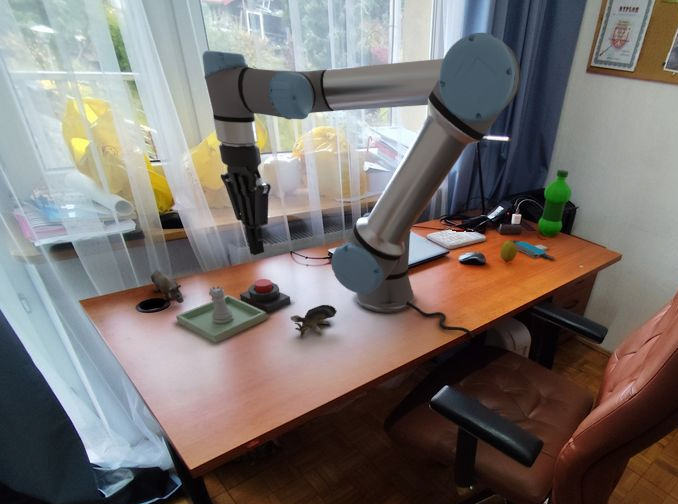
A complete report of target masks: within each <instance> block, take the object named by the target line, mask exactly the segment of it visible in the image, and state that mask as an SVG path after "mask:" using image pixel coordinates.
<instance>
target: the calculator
mask: <svg viewBox="0 0 678 504" xmlns="http://www.w3.org/2000/svg"><path fill="white" fill-rule="evenodd" d="M426 238H427V239H428V240H429V241H432V242H433V243H435V244H438V245H439V246H441V247H443V248H446V249H448V250H453V249H457V248H463V247H465V246H469V245H470V246H471V245H474V244H477V243H481V242H485V241H486V239H487V236H485V235H484V234H482V233H479V232H477V231H475V232H466V231H464V232H456V231H452V230H450V229H446V230H440V231H435V232H432V233H428V234H426Z"/></svg>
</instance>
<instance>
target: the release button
mask: <svg viewBox="0 0 678 504" xmlns="http://www.w3.org/2000/svg"><path fill="white" fill-rule="evenodd" d="M272 283H273V282H272V281H271V279H266V278H259V279H256V280H255V281H254V282H253V284H254V286H255V291H256V292H262V293H263V292H269V291H271V290H272Z"/></svg>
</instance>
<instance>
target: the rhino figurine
mask: <svg viewBox="0 0 678 504" xmlns="http://www.w3.org/2000/svg"><path fill="white" fill-rule="evenodd" d="M150 279H151V282H152V283H153V284H154V286H155V289H154V290H155V291H156V292H161V293H162V294H163V295H164V296H163V301H169V300H171V298H172V299H174V300H175V301H176V303H179V304H182V303H184V298H183V294H182V292H181V291H180V289H179V288H182V285H181V284H178V282H177V281H176V280H175V279H174V278H173V276H172V275H169V273H168V272H167V271H165V270H162V269H155V271H154V272H152V273H151V275H150ZM170 296H171V298H170Z"/></svg>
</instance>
